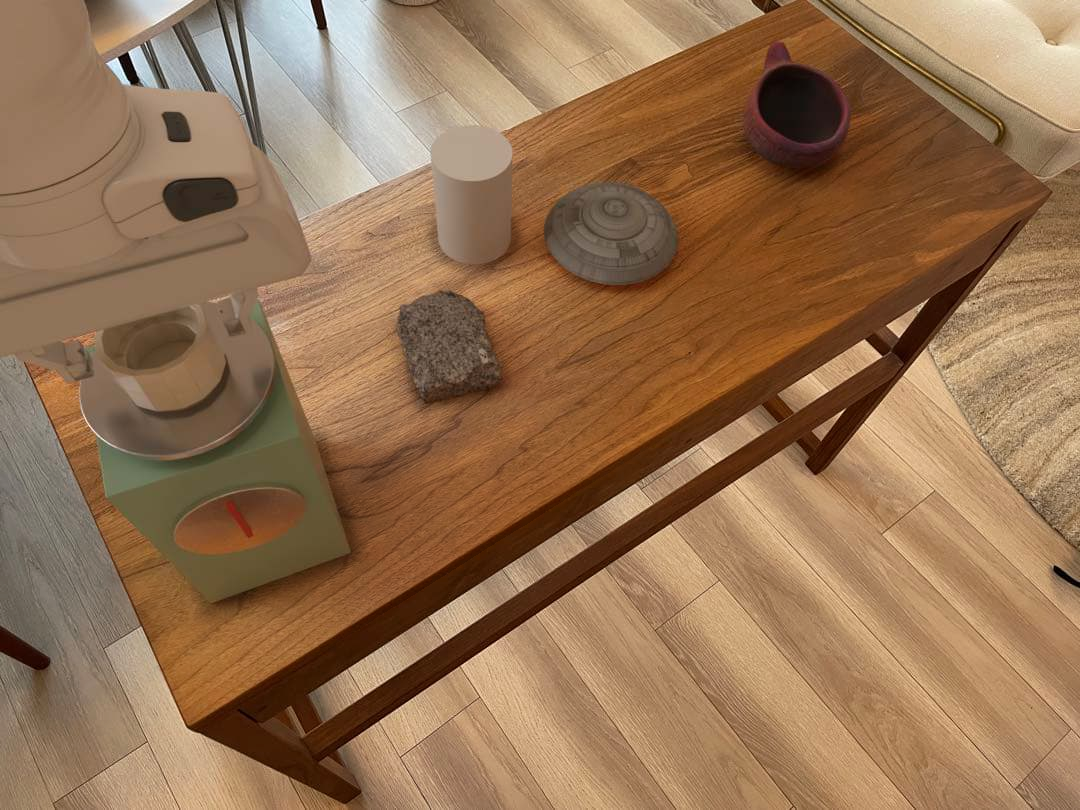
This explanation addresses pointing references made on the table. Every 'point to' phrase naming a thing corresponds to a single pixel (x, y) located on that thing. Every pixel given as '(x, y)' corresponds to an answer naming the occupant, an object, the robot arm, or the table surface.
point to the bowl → (795, 112)
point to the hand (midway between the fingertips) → (162, 348)
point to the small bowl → (163, 358)
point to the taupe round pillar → (472, 193)
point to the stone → (447, 346)
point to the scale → (221, 469)
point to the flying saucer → (611, 234)
